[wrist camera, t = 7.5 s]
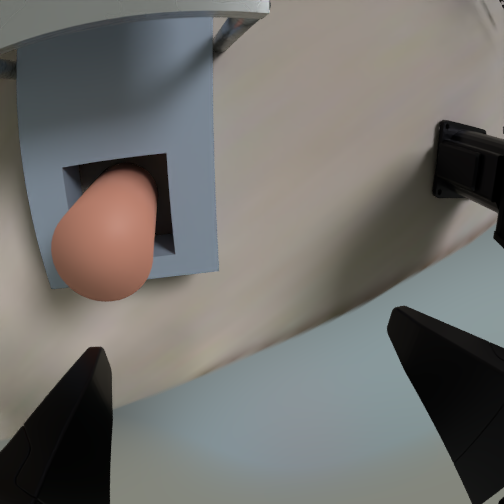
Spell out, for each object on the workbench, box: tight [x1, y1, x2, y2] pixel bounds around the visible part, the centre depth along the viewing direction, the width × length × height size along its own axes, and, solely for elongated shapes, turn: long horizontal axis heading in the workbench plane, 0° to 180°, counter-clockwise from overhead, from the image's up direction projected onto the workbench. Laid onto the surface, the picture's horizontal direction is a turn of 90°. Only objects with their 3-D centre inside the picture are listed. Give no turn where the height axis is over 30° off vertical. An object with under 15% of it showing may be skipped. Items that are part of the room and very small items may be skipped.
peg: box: [51, 163, 158, 301], centre depth 14 cm, size 4×4×8 cm
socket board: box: [17, 17, 219, 289], centre depth 14 cm, size 10×18×3 cm, turn 0°
